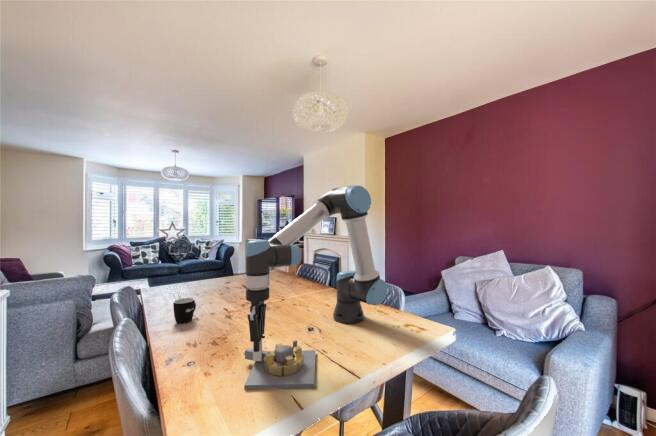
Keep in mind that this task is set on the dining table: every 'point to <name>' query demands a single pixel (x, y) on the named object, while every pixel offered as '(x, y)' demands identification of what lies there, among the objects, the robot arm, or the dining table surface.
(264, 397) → the dining table surface
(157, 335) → the dining table surface
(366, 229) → the robot arm
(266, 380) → the hub plate
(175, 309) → the mug
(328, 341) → the dining table surface
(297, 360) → the ring nut
